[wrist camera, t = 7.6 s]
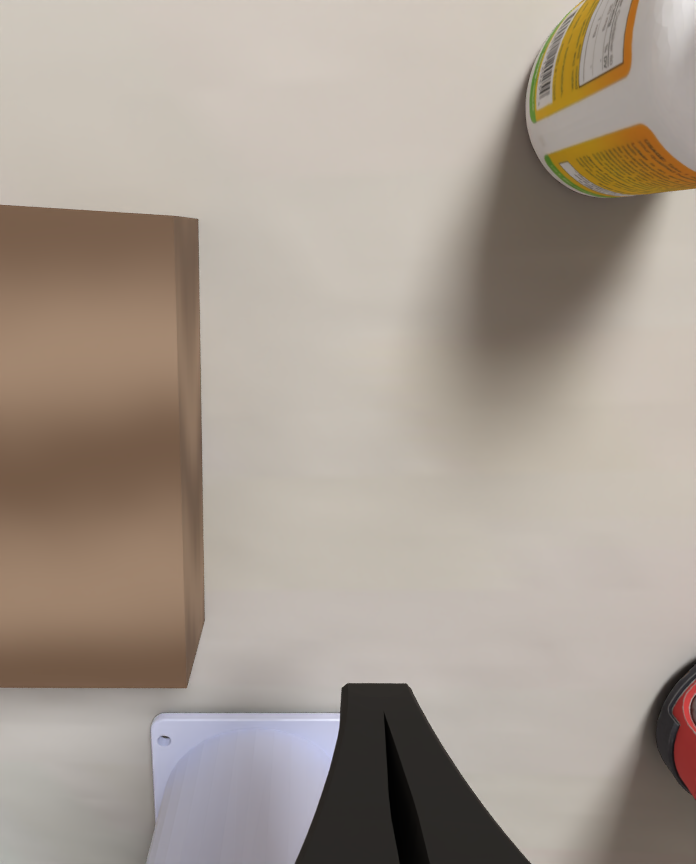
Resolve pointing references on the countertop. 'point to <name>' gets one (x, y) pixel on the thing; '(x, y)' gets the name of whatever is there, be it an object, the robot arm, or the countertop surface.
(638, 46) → the supplement bottle
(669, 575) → the countertop surface
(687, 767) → the speaker
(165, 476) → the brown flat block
